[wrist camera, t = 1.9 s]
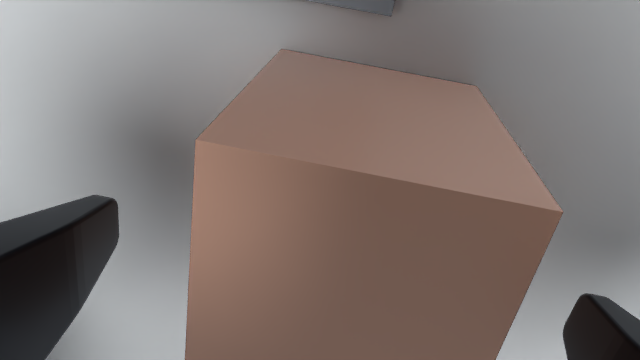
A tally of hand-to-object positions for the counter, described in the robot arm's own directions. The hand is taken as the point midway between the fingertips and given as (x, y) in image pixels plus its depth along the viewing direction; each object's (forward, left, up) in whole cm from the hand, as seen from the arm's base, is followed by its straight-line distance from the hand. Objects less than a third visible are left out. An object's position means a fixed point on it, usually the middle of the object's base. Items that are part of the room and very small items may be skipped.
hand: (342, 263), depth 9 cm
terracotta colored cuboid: (0, 0, -5) cm, 5 cm away
